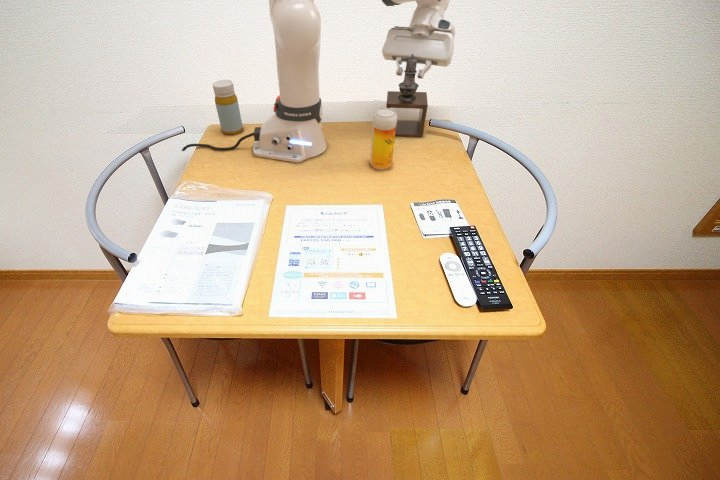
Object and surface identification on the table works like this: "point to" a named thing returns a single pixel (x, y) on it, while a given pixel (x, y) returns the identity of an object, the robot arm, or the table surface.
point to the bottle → (227, 107)
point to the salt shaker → (409, 81)
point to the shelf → (419, 103)
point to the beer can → (383, 138)
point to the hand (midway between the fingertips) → (409, 76)
